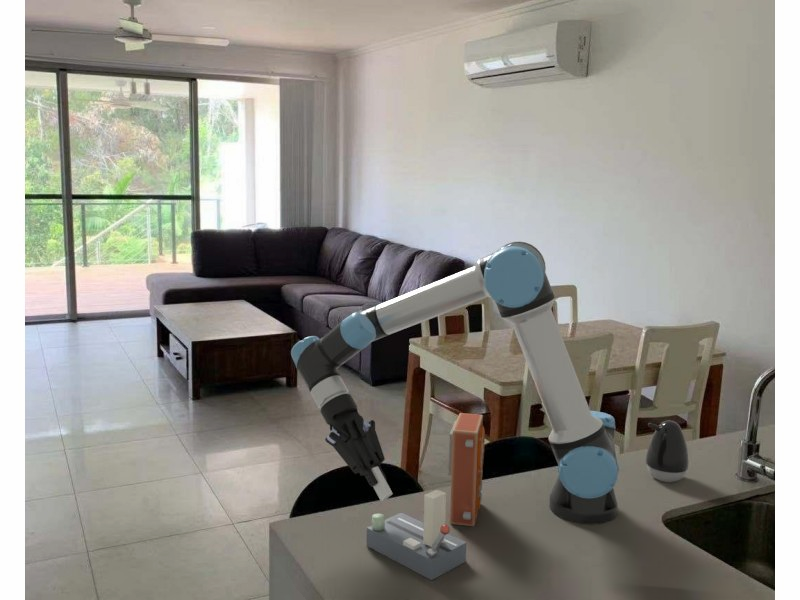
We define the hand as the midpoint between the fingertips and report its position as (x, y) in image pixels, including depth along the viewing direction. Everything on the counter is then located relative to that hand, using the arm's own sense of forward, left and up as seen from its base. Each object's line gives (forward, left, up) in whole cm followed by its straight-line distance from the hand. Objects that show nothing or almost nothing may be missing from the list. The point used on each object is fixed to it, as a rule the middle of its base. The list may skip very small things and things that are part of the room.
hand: (386, 497), depth 153 cm
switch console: (-6, +5, -9) cm, 12 cm away
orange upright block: (-16, -14, -10) cm, 24 cm away
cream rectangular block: (-10, +8, -5) cm, 14 cm away
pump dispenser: (-67, -40, -10) cm, 79 cm away
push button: (+1, +3, -5) cm, 6 cm away
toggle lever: (-10, +13, -5) cm, 17 cm away
